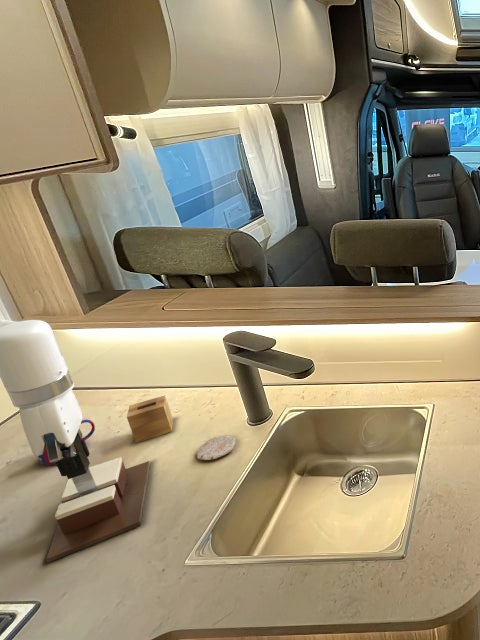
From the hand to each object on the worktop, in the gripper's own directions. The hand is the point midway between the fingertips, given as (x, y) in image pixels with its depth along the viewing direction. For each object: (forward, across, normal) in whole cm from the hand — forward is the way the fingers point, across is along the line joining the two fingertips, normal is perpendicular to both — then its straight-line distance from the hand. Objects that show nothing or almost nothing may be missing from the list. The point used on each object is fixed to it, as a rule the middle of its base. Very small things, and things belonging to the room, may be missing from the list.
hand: (76, 464), depth 80 cm
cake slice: (+12, +2, 0) cm, 12 cm away
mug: (+13, -25, -8) cm, 30 cm away
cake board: (+13, -1, +1) cm, 13 cm away
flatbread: (+13, -6, +20) cm, 25 cm away
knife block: (+13, -22, +8) cm, 27 cm away
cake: (+12, -4, 0) cm, 13 cm away
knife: (+12, 0, 0) cm, 12 cm away
